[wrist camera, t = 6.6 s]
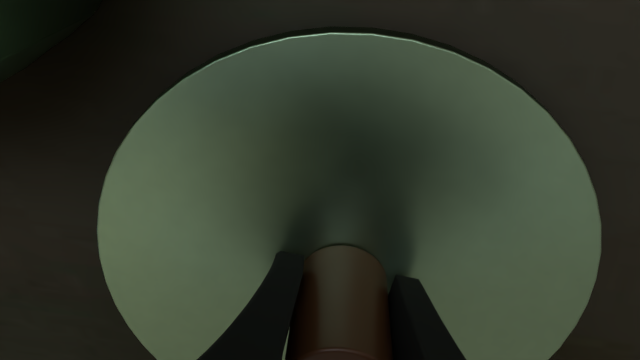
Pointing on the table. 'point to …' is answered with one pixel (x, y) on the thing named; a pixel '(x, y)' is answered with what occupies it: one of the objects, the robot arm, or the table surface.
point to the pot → (37, 29)
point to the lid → (350, 200)
